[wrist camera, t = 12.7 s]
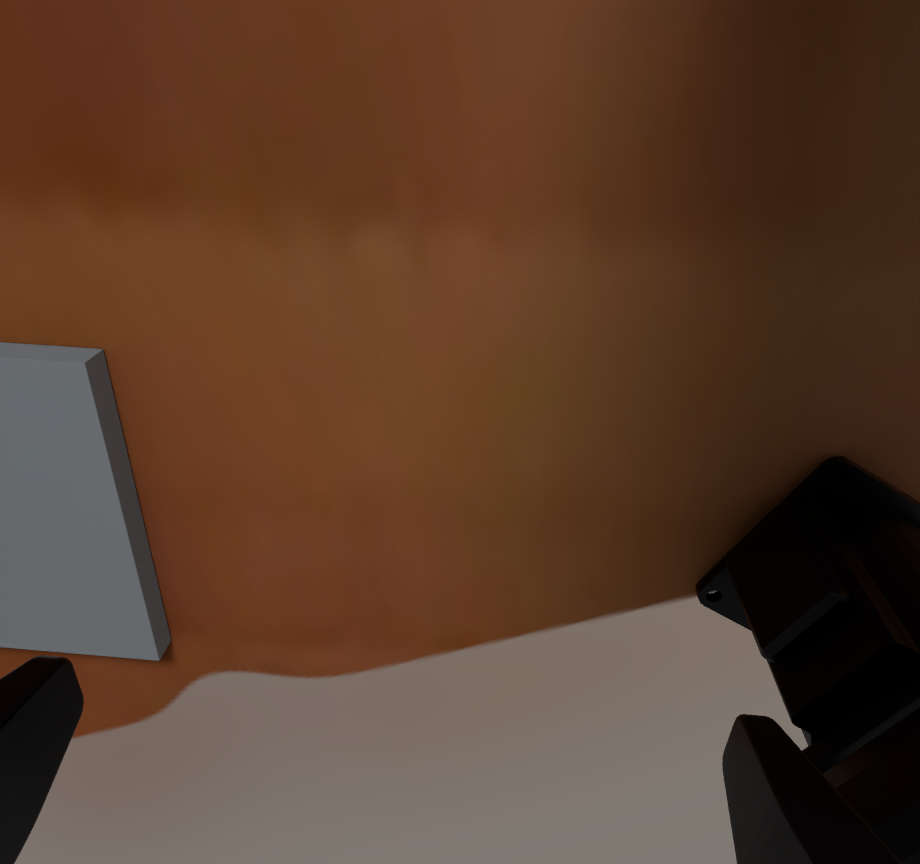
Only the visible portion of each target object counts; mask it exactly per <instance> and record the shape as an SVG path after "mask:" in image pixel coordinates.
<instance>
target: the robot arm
mask: <svg viewBox="0 0 920 864" xmlns="http://www.w3.org/2000/svg"><path fill="white" fill-rule="evenodd" d="M838 471H844V472H843V474H842V475H841V476H839V477H836V478H832V476H833V475H834V474H835V473H836V472H838ZM713 590H717V592H715V593H711V594H709V593H708V592H710V591H713ZM696 593H697V596H698V599H699V601H700V603H701V604H703V605H704V606H706V607H708V608H710V609H711V610H713V611H715V612H717V613H719V614H721V615H723V616H725V617H726V618H728V619H730V620H732V621H734V622H736V623H738V624H740V625H741V626H744V627H745V628H747V629H749V630H751V631H752V633H753V635H754V638H755V640H756V643H757V645H758V648H759V651H760V653H761V655H762V656H763V657H764V658H765V659H767V662H768V664H769V667H770V669H771V672H772V674H773V677H774V679H775V681H776V684H777V687H778V689H779V692H780V694H781V696H782V699H783V702H784V704H785V707H786V709H787V711H788V714H789V717H790V719H791V721H792V723H793V724H794V725H795V726H797V727H799V728H801V729H802V732H803V734H804V737H805V739H806V741H807V744H808V747H807V748H805V749H804V750H802V751H801V750H800V748H799V747H798V746H797V745H796V744H795V743H794V742H793V741H792V739H791V738H790V737H789V736H788V735H787V734H786V733H785V732H784V730H783V729H782V728H781V727H780V726H779V725H778V724H777V723H776V722H775V721H774V720H773V719H771V718H769V717H766V716H758V715H746V714H742V715H739V716H738V717H737V718H736V720H735V722H734V725H733V727H732V730H731V733H730V736H729V739H728V742H727V744H726V747H725V750H724V754H723V775H724V782H725V787H726V795H727V801H728V807H729V813H730V820H731V827H732V833H733V840H734V845H735V852H736V859H737V864H920V502H918V501H917V500H915V499H913V498H912V497H910V496H908V495H907V494H905V493H904V492H902V491H900V490H899V489H897V488H895V487H894V486H892V485H890V484H889V483H887V482H886V481H884V480H882V479H881V478H879V477H877V476H876V475H874V474H872V473H871V472H869V471H868V470H866V469H864V468H863V467H861V466H859V465H858V464H856V463H855V462H853V461H851V460H850V459H848V458H845V457H842V456H839V457H832V458H829V459H827V460H826V461H824V462H823V463H822V464H821V465H820V466H819V467H818V468H817V469H816V470H814V471H813V472H812V473H811V474H810V475H809V476H808V477H807V478H806V479H805V480H804V481H803V482H802V483H801V484H800V485H799V486H798V487H797V488H796V489H795V490H794V491H793V492H792V493H791V494H790V495H788V496H787V497H786V498H785V499H784V500H783V501H782V502H781V503H780V504H779V505H777V506H776V507H775V508H774V509H773V510H772V511H771V512H770V513H769V514H768V515H767V516H766V517H765V518H764V519H763V520H762V521H761V522H760V523H759V524H758V525H756V526H755V527H754V528H753V529H752V530H751V531H750V532H749V533H748V534H747V535H746V536H745V537H744V538H743V539H742V540H741V541H740V542H739V543H738V544H737V545H736V546H735V547H734V548H733V549H732V550H730V551H729V552H728V553H727V554H726V556H725V557H724V558H723V559H722V560H721V561H720V562H719V563H718V564H717V565H716V566H715V567H714V568H713V569H712V570H711V571H709V572H708V573H707V574H706V575H705V576H704V577H703V578H702V579H701V580H700V581H699V582H698V584H697V585H696ZM83 704H84V700H83V694H82V691H81V688H80V685H79V682H78V679H77V677H76V674H75V671H74V668H73V665H72V663H71V661H70V660H68V659H67V658H65V657H55V656H37V657H34V658H32V659H30V660H29V661H27V662H26V663H24V664H23V665H21V666H19V667H18V668H16V669H15V670H13V671H12V672H10V673H9V674H7V675H6V676H4V677H3V678H1V679H0V864H14V863H15V861H16V859H17V857H18V855H19V854H20V852H21V850H22V848H23V846H24V844H25V842H26V840H27V838H28V836H29V834H30V833H31V830H32V829H33V827H34V824H35V822H36V820H37V817H38V815H39V813H40V811H41V809H42V807H43V804H44V802H45V800H46V797H47V795H48V792H49V790H50V788H51V785H52V783H53V780H54V778H55V776H56V774H57V771H58V769H59V767H60V764H61V762H62V760H63V757H64V754H65V752H66V750H67V748H68V745H69V743H70V741H71V738H72V736H73V734H74V731H75V729H76V726H77V724H78V722H79V719H80V717H81V714H82V710H83Z"/></svg>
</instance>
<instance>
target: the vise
mask: <svg viewBox="0 0 920 864" xmlns="http://www.w3.org/2000/svg"><path fill="white" fill-rule="evenodd" d="M170 642H171V638H170V633H169V629H168V625H167V620H166V616H165V612H164V608H163V603H162V599H161V595H160V590H159V586H158V582H157V578H156V573H155V569H154V565H153V561H152V556H151V552H150V548H149V543H148V539H147V535H146V531H145V526H144V522H143V518H142V513H141V509H140V505H139V501H138V496H137V492H136V488H135V484H134V479H133V475H132V471H131V466H130V462H129V458H128V454H127V449H126V445H125V441H124V436H123V432H122V428H121V424H120V419H119V415H118V411H117V407H116V402H115V398H114V394H113V389H112V385H111V381H110V377H109V372H108V368H107V364H106V359H105V355H104V351H103V349H94V348H78V347H63V346H48V345H33V344H18V343H3V342H0V647H5V648H17V649H29V650H40V651H52V652H63V653H75V654H87V655H98V656H110V657H121V658H133V659H145V660H156V661H160V659H161V657H162V655H163V654H164V652H165V650H166V648H167V647H168V645H169V643H170Z"/></svg>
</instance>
